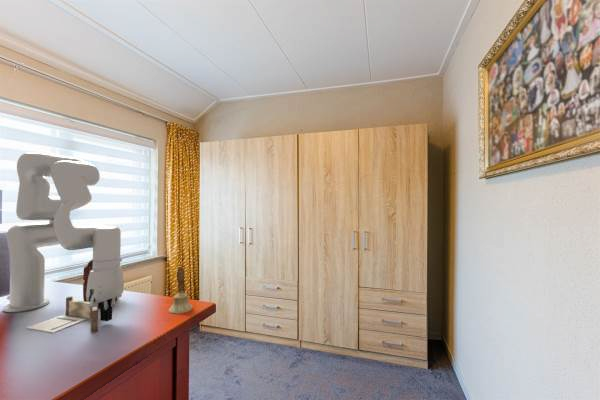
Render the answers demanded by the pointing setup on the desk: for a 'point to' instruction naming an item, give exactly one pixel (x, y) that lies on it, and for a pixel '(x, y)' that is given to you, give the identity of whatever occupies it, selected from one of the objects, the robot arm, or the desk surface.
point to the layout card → (56, 324)
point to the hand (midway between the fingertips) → (106, 319)
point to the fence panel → (94, 320)
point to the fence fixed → (78, 308)
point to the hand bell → (180, 296)
